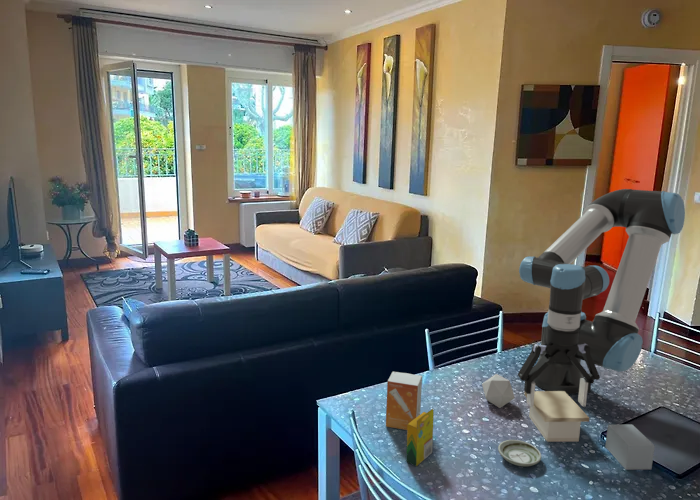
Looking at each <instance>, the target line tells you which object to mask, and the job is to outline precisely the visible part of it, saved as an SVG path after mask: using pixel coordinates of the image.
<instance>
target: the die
mask: <svg viewBox="0 0 700 500" xmlns="http://www.w3.org/2000/svg"><path fill="white" fill-rule="evenodd" d="M481 385H482V389H483V393H484V397H485V399H486V401H487V402H489V403H490V404H492V405H494V406H495V407H498V408H499V409H501V408H503V407H504V406H505V405H507V404H508V403H510V402H512V401H513V400H514V399H515V398H516V397H515V394H514V390H513V387H512V384H511V382H510V380H509V379H507V378H505V377H503V376H501V375H499V374H497V373H495V374H494V375H492V376H491V377H490V378H488V379H486V380H485V381H484V382H482V383H481Z"/></svg>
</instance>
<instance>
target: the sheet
mask: <svg viewBox="0 0 700 500" xmlns="http://www.w3.org/2000/svg"><path fill="white" fill-rule="evenodd" d="M523 395H524V396H525V398H526V399H527V393H526V392H525V390H524V392H523ZM569 395H570V394H567V393H566V392H565V391H547V390H536V391H535V393H534V405H533V407H534V408H535V410H536V411H537V412H538V413H539V415H540V416H541V417H542V419H543V420H544V421H545V422H581V423H582V422H585V423H586V422H587V423H588V422H590V416H588V414H586V413H585V411H584V410H583V409H582V408H581V407H580V406H579V404H577V403H576V401H574V400H573V398H572V397H571V396H569Z"/></svg>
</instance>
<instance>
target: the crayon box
mask: <svg viewBox="0 0 700 500" xmlns="http://www.w3.org/2000/svg"><path fill="white" fill-rule="evenodd" d="M433 441H434V408H431V409H430V410H429V411H428V412H425V411H423V412H422V413H420V415H419V416H418V417H416V418H415V419H414V420H413V421H411V422H410V423H409V424H407V430H406V463H407V464H410V465H413V466H415V467H418V466H419V465H420V464H421V463H422V462H423V461H424V460H426V459H427V458H428V457H429V456H430V455H431V454H432V453H433V444H434V442H433Z"/></svg>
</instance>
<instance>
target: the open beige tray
mask: <svg viewBox="0 0 700 500" xmlns="http://www.w3.org/2000/svg"><path fill="white" fill-rule="evenodd" d="M528 416H529V417H528V418H529V419H530V420H531V421H532V423H533V424H534V425H535V427H536V429H537V430H538V431H539V433H540V434H541V436H542V437H543V438H544V440H545V441H546V442H547V443H548V442H549V443H550V442H551V443H552V442H561V443H562V442H579V440H580V435H581V434H580V432H581V424H582V422H545V421H544V420H543V419H542V417H541V416H540V415H539V413H538V412H537V411H536V410H535V408H534V407H530V406H529V415H528Z"/></svg>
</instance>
